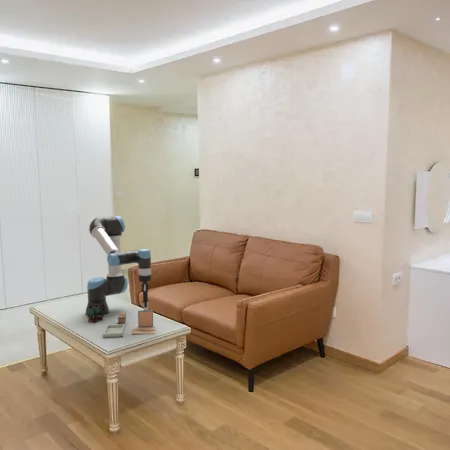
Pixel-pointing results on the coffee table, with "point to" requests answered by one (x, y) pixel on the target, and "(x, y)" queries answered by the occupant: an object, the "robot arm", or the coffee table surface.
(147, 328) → the cork mat
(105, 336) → the tray
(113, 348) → the coffee table surface
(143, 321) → the grey square tile
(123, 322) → the block
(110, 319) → the coffee table surface
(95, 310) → the binoculars
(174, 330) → the coffee table surface
